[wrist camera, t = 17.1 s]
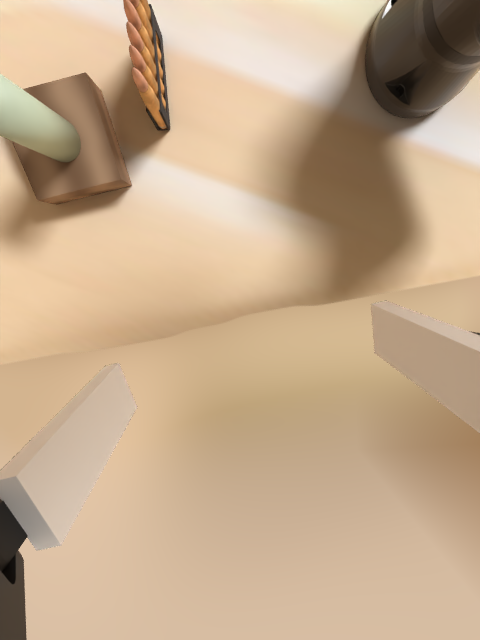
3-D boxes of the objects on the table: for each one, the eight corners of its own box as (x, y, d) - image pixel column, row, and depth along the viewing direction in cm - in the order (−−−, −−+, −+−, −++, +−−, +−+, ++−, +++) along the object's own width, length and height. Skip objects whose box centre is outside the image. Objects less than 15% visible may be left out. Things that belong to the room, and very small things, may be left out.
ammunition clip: (170, 130, 37) (143, 80, 25) (157, 130, 37) (125, 80, 25) (162, 35, 34) (127, -71, 22) (147, 35, 34) (105, -71, 22)
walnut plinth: (101, 90, 35) (85, 72, 31) (131, 185, 39) (121, 179, 35) (18, 112, 35) (-7, 97, 32) (56, 204, 39) (37, 200, 35)
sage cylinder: (69, 112, 32) (-8, 53, 22) (87, 156, 34) (22, 120, 23) (33, 123, 33) (-61, 70, 22) (52, 167, 34) (-27, 136, 24)
